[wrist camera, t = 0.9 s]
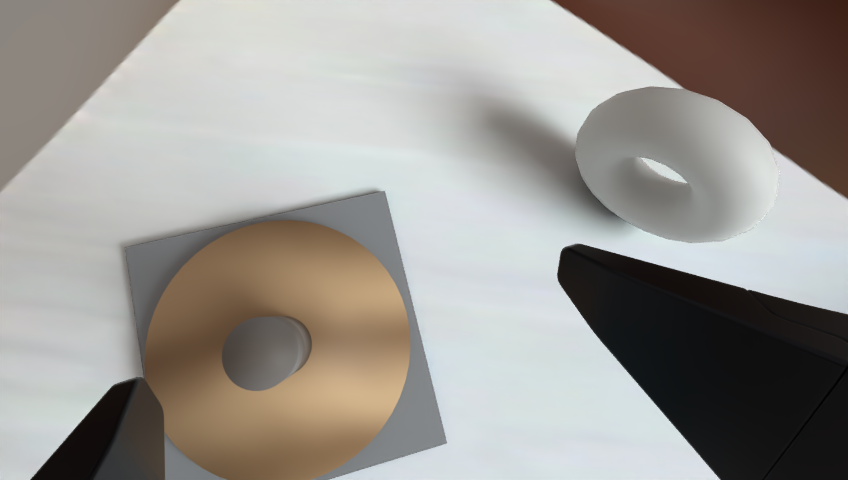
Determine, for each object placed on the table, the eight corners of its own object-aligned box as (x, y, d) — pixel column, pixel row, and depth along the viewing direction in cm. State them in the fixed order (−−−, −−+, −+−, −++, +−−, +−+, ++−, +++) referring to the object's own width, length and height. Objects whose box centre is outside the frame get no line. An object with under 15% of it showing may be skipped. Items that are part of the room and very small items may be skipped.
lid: (436, 436, 23) (449, 468, 18) (174, 516, 21) (113, 575, 16) (378, 200, 25) (376, 174, 20) (135, 254, 23) (70, 239, 18)
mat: (445, 440, 23) (446, 443, 23) (171, 524, 21) (166, 529, 21) (384, 193, 25) (384, 190, 25) (130, 248, 23) (124, 247, 23)
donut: (538, 165, 27) (627, 81, 17) (569, 129, 27) (672, 28, 17) (656, 265, 26) (819, 239, 16) (685, 226, 27) (857, 178, 17)
